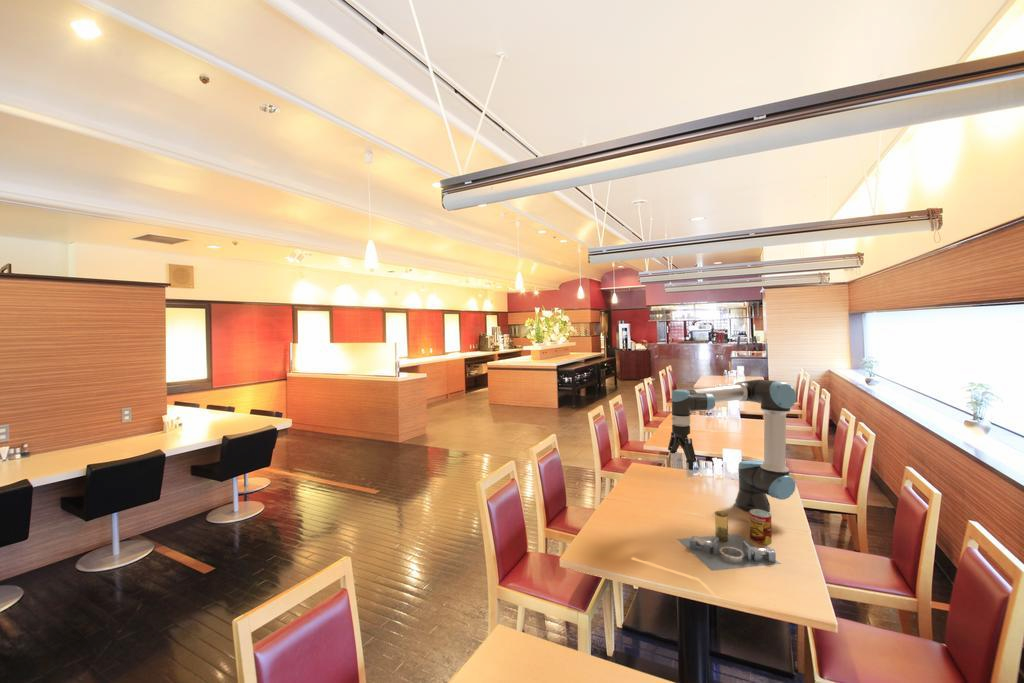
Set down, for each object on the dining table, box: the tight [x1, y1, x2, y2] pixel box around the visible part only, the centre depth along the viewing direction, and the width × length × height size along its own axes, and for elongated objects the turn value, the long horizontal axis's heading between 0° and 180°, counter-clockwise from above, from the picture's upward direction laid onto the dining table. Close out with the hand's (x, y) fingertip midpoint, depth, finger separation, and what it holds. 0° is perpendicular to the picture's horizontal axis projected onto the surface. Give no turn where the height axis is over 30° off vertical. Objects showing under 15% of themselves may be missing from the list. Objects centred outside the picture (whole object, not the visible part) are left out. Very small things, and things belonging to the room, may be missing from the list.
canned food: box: [749, 509, 773, 545], centre depth 174 cm, size 8×8×12 cm
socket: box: [720, 547, 745, 563], centre depth 160 cm, size 8×8×2 cm
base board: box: [677, 533, 782, 572], centre depth 165 cm, size 28×24×1 cm
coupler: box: [714, 510, 729, 542], centre depth 174 cm, size 5×5×11 cm
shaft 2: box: [743, 541, 777, 562], centre depth 159 cm, size 10×5×5 cm, turn 83°
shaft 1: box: [689, 535, 719, 556], centre depth 166 cm, size 10×5×5 cm, turn 53°
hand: (681, 471), depth 186 cm, fingers open, 13 cm apart
